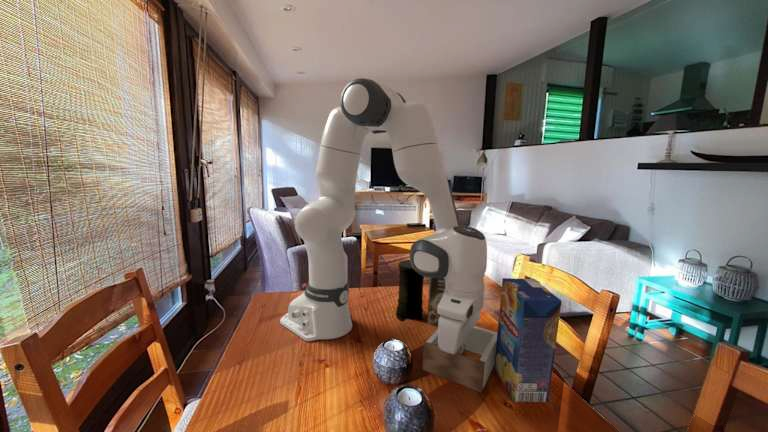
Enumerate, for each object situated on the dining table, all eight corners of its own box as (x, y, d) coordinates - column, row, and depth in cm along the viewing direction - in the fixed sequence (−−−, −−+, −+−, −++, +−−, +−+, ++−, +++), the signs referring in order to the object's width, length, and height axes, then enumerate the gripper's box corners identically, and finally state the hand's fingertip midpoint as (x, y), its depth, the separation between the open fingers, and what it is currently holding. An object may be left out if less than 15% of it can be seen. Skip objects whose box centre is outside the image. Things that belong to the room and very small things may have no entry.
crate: (424, 371, 81) (426, 341, 79) (445, 344, 93) (447, 318, 91) (482, 394, 74) (485, 361, 72) (497, 362, 85) (500, 333, 84)
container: (408, 307, 115) (410, 257, 111) (429, 317, 108) (432, 264, 105) (389, 315, 108) (391, 262, 105) (410, 326, 102) (413, 270, 99)
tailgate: (422, 369, 79) (423, 344, 78) (424, 367, 80) (425, 342, 79) (481, 392, 72) (483, 364, 71) (482, 389, 73) (484, 362, 72)
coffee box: (427, 325, 103) (430, 275, 100) (427, 315, 109) (429, 268, 106) (457, 327, 102) (461, 277, 99) (455, 317, 108) (458, 270, 105)
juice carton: (547, 407, 70) (561, 301, 66) (512, 407, 70) (524, 300, 66) (523, 371, 82) (534, 278, 78) (493, 370, 82) (502, 278, 78)
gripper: (464, 280, 87) (461, 328, 90) (434, 309, 70) (430, 368, 73) (489, 285, 84) (485, 335, 87) (463, 317, 67) (458, 379, 69)
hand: (460, 351), depth 80 cm, fingers closed
